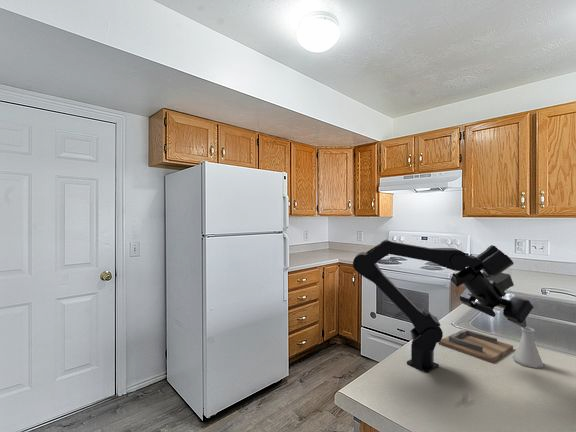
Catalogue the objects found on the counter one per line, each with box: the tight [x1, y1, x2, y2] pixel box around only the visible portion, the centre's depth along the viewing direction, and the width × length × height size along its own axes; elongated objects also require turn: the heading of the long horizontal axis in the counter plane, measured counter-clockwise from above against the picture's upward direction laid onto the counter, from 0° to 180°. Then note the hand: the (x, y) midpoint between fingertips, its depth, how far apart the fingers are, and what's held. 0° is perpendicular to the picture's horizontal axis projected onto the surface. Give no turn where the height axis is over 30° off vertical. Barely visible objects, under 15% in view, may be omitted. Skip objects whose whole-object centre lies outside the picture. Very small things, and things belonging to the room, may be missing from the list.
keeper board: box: [438, 328, 514, 364], centre depth 100 cm, size 16×16×3 cm
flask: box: [512, 326, 545, 369], centre depth 89 cm, size 7×7×10 cm
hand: (509, 320), depth 87 cm, fingers open, 9 cm apart
